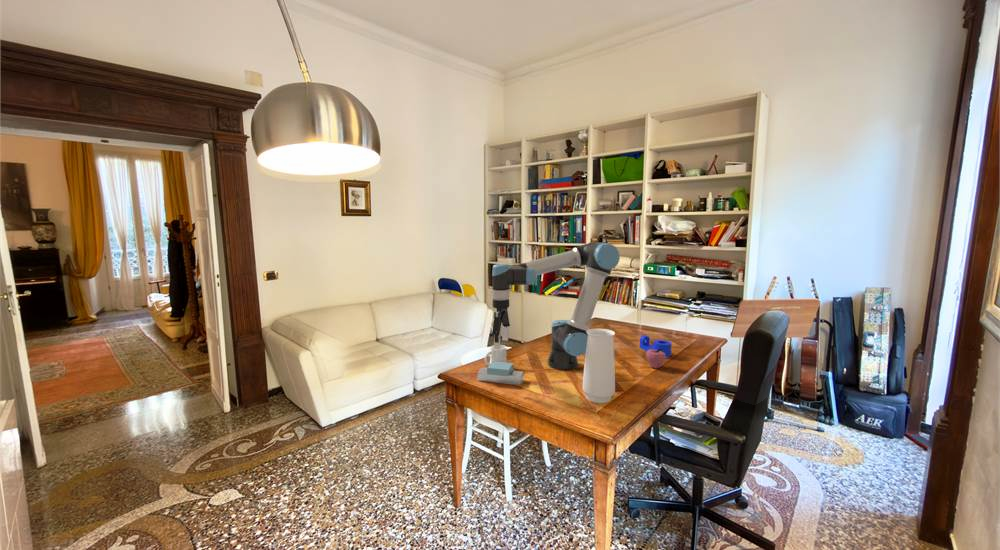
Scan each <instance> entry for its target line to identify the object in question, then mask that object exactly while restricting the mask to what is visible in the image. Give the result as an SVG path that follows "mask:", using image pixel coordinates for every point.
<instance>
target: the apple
mask: <svg viewBox="0 0 1000 550" xmlns="http://www.w3.org/2000/svg"><path fill="white" fill-rule="evenodd" d="M645 352H646V351H645ZM645 358H646V361H647V362H648V363H649V366H650V367H651V368H653V367H654V369H659V368H661V366H662V365H663V363H664V362H665V361H666V359H667V358H666V355H665V353H664V352H662V351H661V349H659V350H652V349H651V350H648V351H647V352H646V353H645Z"/></svg>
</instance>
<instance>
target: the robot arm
mask: <svg viewBox="0 0 1000 550" xmlns="http://www.w3.org/2000/svg"><path fill="white" fill-rule="evenodd" d="M619 262H620V251H619V249H618V248H617V246H615V245H613V244H611V243H610V242H609V243H608V242H599V241H592V242H591V241H590V242H589V243H585V244H582V245H579V246H575V247H573V248H572V249H571V250H568V251H565V252H561V253H560V252H559V253H557V254H553V255H549V256H545V257H541V258H538V259H534V260H531V261H526V262H523V263H518V264H511V265H509V264H507V263H506V264H505V263H496V264H494V265H493V266H492V272H491V273H492V274H491V277H492V278H491V279H492V290H491V294H492V298H493V299H492V307H493V308H494V309H496V311H494V312H493V314H494V315H493V317H494V319H493V326H492V332H491V335H492V336H493V345H494V349H499V350H500V345H501V341H504V342H505V341H509V327H510V326H511V324H510V319H509V311H508V308H509V307H510V286H524V285H525V286H529V285H530V286H531V285H534V284H536V281H537V276H540V275H543V274H547V273H551V272H554V271H559V270H562V269H566V268H570V267H574V266H577V267H582V266H585V270H586V275H585V278H584V281H583V283H582V287H581V289H580V293H579V294H578V298H577V301H576V303H575V308H574V310H573V313H572V315H571V319H556V320H553V321H552V323H551V350H550V353H549V355H548V359H547V365H548V366H549V367H550V368H553V369H556V370H562V371H568V370H569V371H570V370H574V369H576V368H578V366H579V361H578V357H579V356H582V355H585V354H586V347H587V338H588V334H587V333H586V331H587V330H589V329H591V328H590V323H591V320H592V317H593V313H594V311H595V308H596V306H597V303H598V300H599V297H600V294H601V291H602V288H603V285H604V283H605V280H606V278H607V277H608V276H610V275H611V272H612V269H614V268H616V267H617V266H618V265H619ZM500 333H501V334H500Z"/></svg>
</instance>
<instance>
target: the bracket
mask: <svg viewBox="0 0 1000 550" xmlns="http://www.w3.org/2000/svg"><path fill="white" fill-rule="evenodd" d="M672 345H673V344H672V342H671V341H669V340H664V339H655V340H653V344H651V343H650V337H649V336H648V335H644V334H642V335H641V336H640V338H639V349H640V348H642V349H644V350H646V351H648V350H651V349H652V350H659V349H661V351H662V352H664V353H665V355H666V357H670V356H671V357H672V347H673V346H672ZM642 349H641V350H642ZM644 350H643V351H644ZM646 351H645V352H646ZM671 357H670V358H671Z"/></svg>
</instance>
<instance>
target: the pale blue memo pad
mask: <svg viewBox="0 0 1000 550" xmlns="http://www.w3.org/2000/svg"><path fill="white" fill-rule="evenodd" d="M486 368H487V374H490V375H499V376H509V375H510V374H511V372H512V371H513V370H514V363H513V362H507V361H506V362H496V361H493V362H492V363H491V364H490V365H489V366H488V365H487V367H486Z"/></svg>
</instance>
